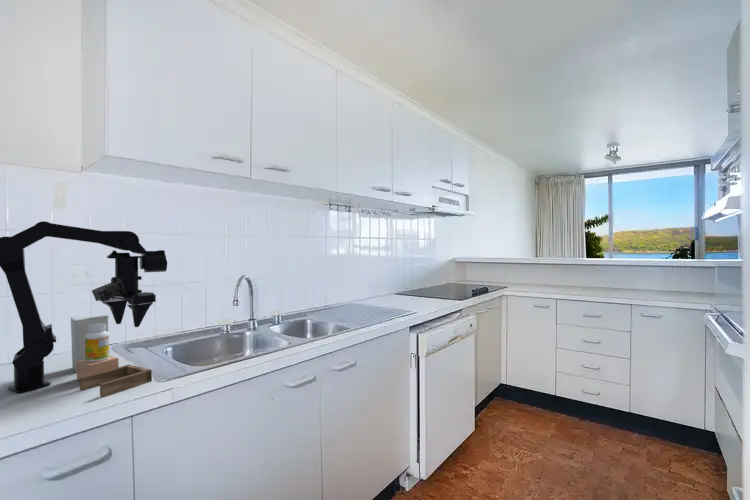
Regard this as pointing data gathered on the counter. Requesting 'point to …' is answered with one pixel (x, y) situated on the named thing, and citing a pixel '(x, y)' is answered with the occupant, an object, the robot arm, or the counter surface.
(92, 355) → the supplement bottle
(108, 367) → the terracotta pedestal
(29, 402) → the counter surface
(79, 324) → the skincare box
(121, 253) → the robot arm
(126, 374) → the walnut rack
